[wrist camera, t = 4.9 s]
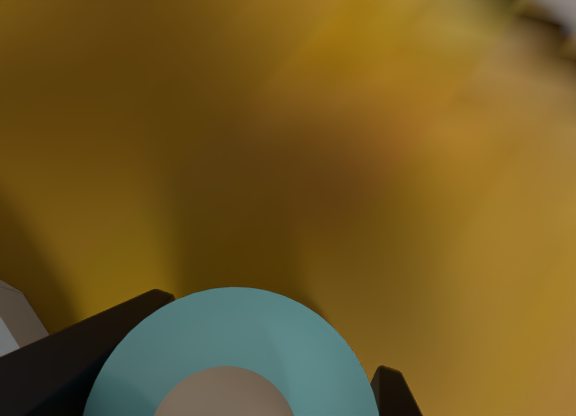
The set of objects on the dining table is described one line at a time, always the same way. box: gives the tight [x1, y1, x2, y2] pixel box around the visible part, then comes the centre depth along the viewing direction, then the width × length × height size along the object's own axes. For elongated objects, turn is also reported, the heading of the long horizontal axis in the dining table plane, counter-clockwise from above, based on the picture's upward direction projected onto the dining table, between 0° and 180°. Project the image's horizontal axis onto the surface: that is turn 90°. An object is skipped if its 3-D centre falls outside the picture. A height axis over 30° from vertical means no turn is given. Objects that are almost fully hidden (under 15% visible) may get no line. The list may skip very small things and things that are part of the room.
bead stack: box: [83, 287, 379, 416], centre depth 10 cm, size 5×5×11 cm
